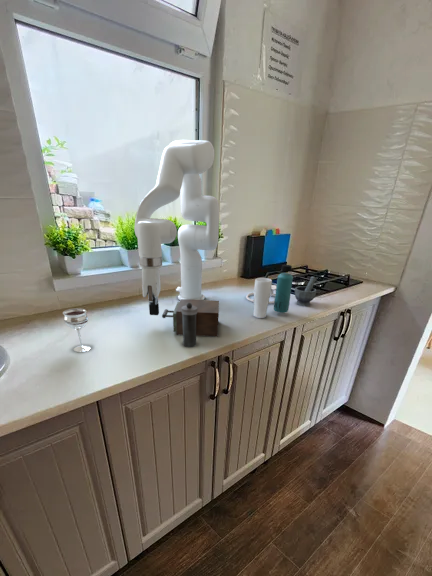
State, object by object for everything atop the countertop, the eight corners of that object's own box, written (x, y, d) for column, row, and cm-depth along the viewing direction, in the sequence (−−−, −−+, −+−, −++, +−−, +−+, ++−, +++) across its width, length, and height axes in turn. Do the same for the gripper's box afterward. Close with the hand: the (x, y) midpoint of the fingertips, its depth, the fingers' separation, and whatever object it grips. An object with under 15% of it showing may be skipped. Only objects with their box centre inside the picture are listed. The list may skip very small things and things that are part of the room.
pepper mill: (179, 344, 107) (177, 302, 100) (188, 340, 111) (188, 299, 103) (190, 348, 105) (190, 306, 97) (200, 344, 108) (200, 302, 101)
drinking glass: (267, 319, 131) (271, 282, 123) (250, 318, 132) (254, 281, 124) (268, 314, 136) (272, 278, 128) (252, 313, 137) (255, 277, 130)
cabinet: (176, 334, 114) (176, 311, 110) (181, 320, 127) (180, 299, 122) (217, 336, 114) (218, 313, 110) (218, 322, 127) (219, 300, 122)
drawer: (160, 331, 114) (159, 312, 111) (166, 318, 126) (165, 301, 122) (211, 333, 114) (211, 314, 111) (212, 320, 126) (213, 303, 122)
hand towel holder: (239, 290, 152) (261, 282, 166) (239, 299, 154) (261, 291, 168) (271, 297, 143) (291, 288, 157) (270, 306, 145) (290, 297, 160)
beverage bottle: (288, 312, 140) (296, 264, 129) (286, 317, 134) (294, 267, 124) (274, 310, 141) (280, 262, 131) (271, 315, 136) (277, 265, 126)
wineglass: (70, 345, 103) (62, 309, 97) (92, 343, 106) (85, 307, 100) (71, 354, 98) (62, 316, 92) (94, 351, 101) (87, 314, 94)
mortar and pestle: (305, 308, 145) (310, 281, 139) (288, 303, 151) (292, 277, 145) (319, 303, 152) (324, 277, 146) (302, 299, 158) (306, 274, 152)
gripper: (144, 257, 115) (148, 307, 124) (134, 266, 102) (139, 321, 111) (165, 258, 115) (167, 308, 124) (158, 266, 102) (161, 321, 112)
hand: (154, 314), depth 118 cm, fingers closed
